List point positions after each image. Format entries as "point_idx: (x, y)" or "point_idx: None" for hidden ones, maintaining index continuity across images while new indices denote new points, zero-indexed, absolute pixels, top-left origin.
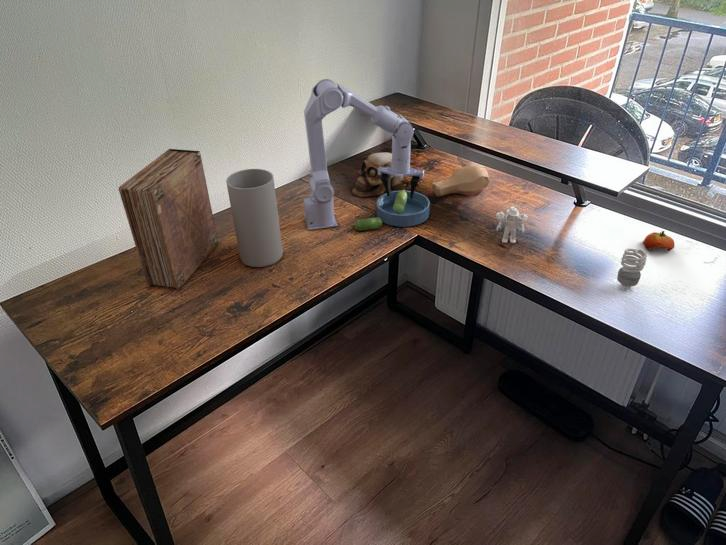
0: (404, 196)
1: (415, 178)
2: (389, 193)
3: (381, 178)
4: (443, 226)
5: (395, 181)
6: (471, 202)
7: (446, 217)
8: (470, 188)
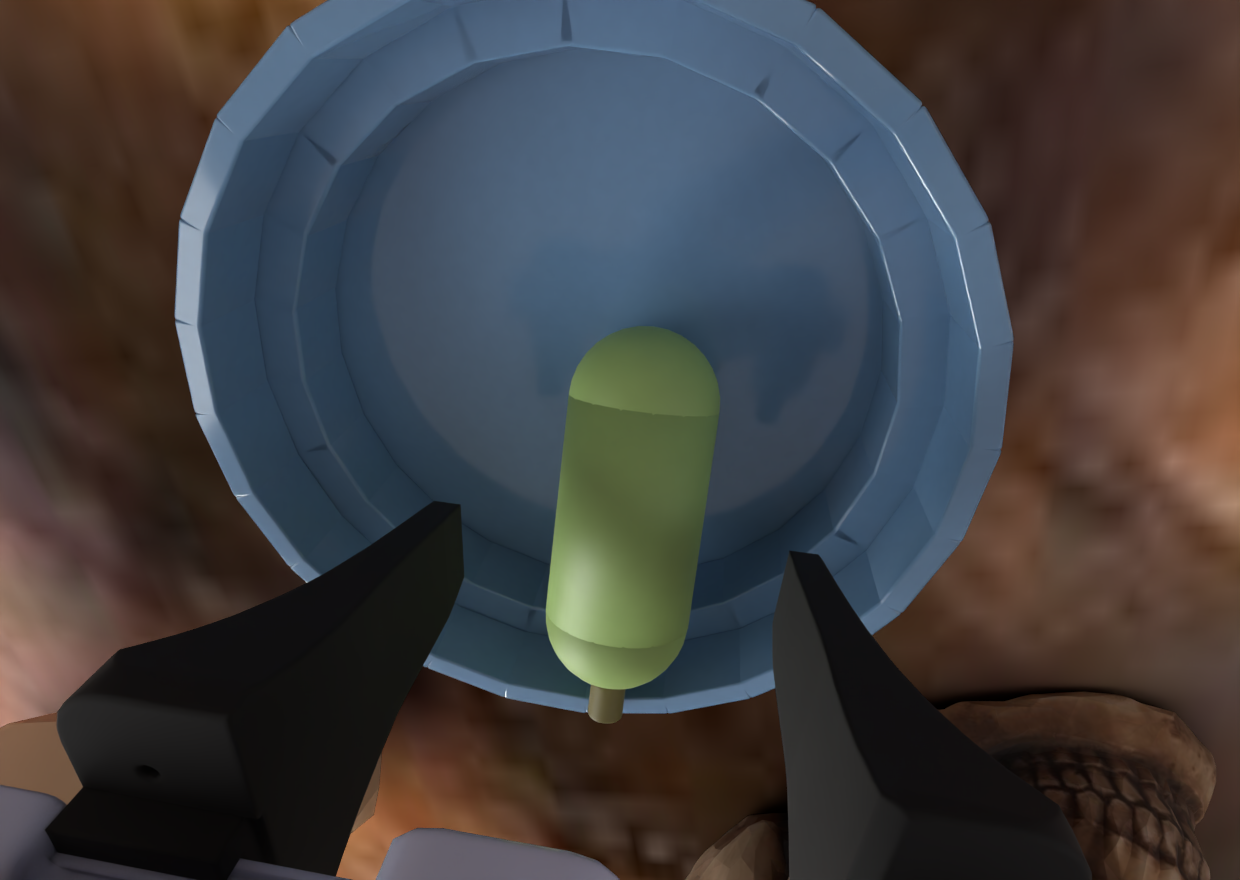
0: (567, 572)
1: (167, 806)
2: (789, 591)
3: (1072, 860)
4: (66, 116)
5: (731, 874)
6: (48, 609)
7: (125, 336)
8: (20, 747)
